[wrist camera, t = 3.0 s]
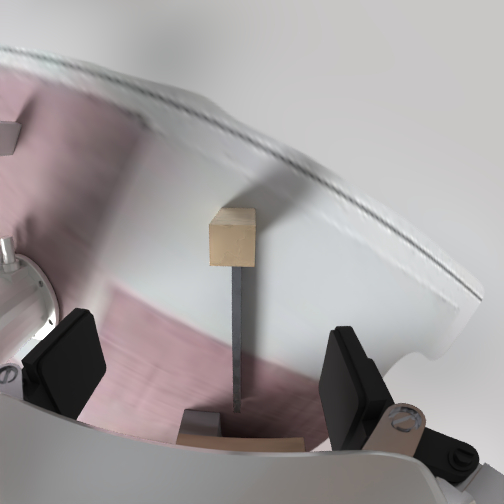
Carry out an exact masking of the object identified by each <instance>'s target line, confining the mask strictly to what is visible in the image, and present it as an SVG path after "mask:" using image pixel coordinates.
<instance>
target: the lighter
mask: <svg viewBox="0 0 504 504" xmlns="http://www.w3.org/2000/svg"><path fill="white" fill-rule="evenodd" d="M21 126H22V125H21V124H20V123H17V122H11V121H0V156H9V155H13V152H14V149H15V145H16V142H17V139H18V136H19V132H20V129H21Z"/></svg>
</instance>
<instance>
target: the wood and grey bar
mask: <svg viewBox="0 0 504 504" xmlns="http://www.w3.org/2000/svg"><path fill="white" fill-rule="evenodd" d="M255 234H256V219H255V208H221V209H220V210H219V212H218V213H217V214H216V216H215V217H214V219H213V220H212V221H211V223H210V224H209V248H210V266H232V351H233V402H234V413H240V407H241V280H242V267H255Z"/></svg>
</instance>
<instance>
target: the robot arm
mask: <svg viewBox="0 0 504 504" xmlns="http://www.w3.org/2000/svg"><path fill="white" fill-rule="evenodd" d="M0 243H1V245H0V504H504V475H503V474H501V473H500V472H498V471H497V470H495V469H494V468H492V467H491V466H490V465H488V464H486V463H484V464H483V465H481V464H480V463H479V455H478V453H477V451H476V449H475V448H473V446H471V445H469V444H467V443H465V442H462V441H459V440H457V439H454V438H452V437H449V436H446V435H444V434H441V433H439V432H436V431H434V430H431V429H429V428H427V427H425V425H426V419H425V416H424V414H423V412H422V411H421V410H420V409H418V408H417V407H415V406H413V405H410V404H406V403H398V404H395V403H394V401H393V399H392V397H391V395H390V393H389V391H388V389H387V387H386V385H385V383H384V381H383V379H382V377H381V375H380V373H379V371H378V369H377V367H376V365H375V363H374V361H373V360H372V359H370V358H367V356H366V354H365V352H364V350H363V348H362V346H361V344H360V342H359V340H358V338H357V336H356V334H355V332H354V330H353V328H352V327H351V326H337V327H336V328H335V330H331V331H330V335H329V340H328V345H327V350H326V354H325V359H324V364H323V368H322V373H321V377H320V381H319V394H320V398H321V402H322V407H323V411H324V415H325V420H326V424H327V429H328V433H329V438H330V442H331V447H332V451H319V452H242V451H226V450H215V449H205V448H197V447H189V446H182V445H176V444H169V443H164V442H158V441H153V440H148V439H143V438H138V437H134V436H130V435H126V434H121V433H118V432H114V431H110V430H106V429H103V428H99V427H96V426H92V425H89V424H86V423H83V422H80V421H77V418H78V416H79V415H80V413H81V411H82V410H83V408H84V406H85V405H86V403H87V401H88V400H89V398H90V397H91V395H92V393H93V392H94V390H95V388H96V387H97V385H98V384H99V382H100V381H101V379H102V377H103V376H104V374H105V372H106V363H105V360H104V356H103V353H102V349H101V345H100V341H99V337H98V333H97V329H96V325H95V320H94V316H93V315H92V314H91V313H90V311H89V310H87V309H81V308H75V309H74V310H73V311H72V312H71V313H70V314H68V315H67V316H66V317H65V318H64V319H63V320H62V321H61V322H60V323H59V324H58V322H59V308H58V302H57V299H56V295H55V293H54V290H53V288H52V286H51V284H50V282H49V280H48V278H47V277H46V275H45V274H44V273H43V271H42V270H41V269H40V268H39V266H38V265H37V264H36V263H35V262H33V261H32V260H31V259H30V258H28V257H26V256H24V255H21V254H15V251H14V250H15V247H14V240H13V235H8V236H4V237H1V238H0ZM3 256H4V259H3ZM31 338H34V339H39V340H40V339H42V340H41V341H40V342H39V343H38V344H37V345H36V346H35V347H34V348H33V349H32V350H31V351H30V352H29V353H28V354H27V355H26V356H25V357H24V358H23V359H22V360H21V361H22V364H23V366H24V367H23V369H22V370H21V368H20V366H19V365H17V364H14V363H7V362H8V361H9V360H10V359H11V358H12V357H13V356H14V355H15V354H16V353H17V352H18V351H19V350H20V349H21V348H22V347H23V346H24V345H25V344H26V343H27V342H28V341H29V340H30V339H31ZM6 363H7V364H6Z"/></svg>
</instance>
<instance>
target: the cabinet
mask: <svg viewBox="0 0 504 504" xmlns="http://www.w3.org/2000/svg"><path fill="white" fill-rule="evenodd" d="M176 445H182V446H189V447H197V448H205V449H215V450H226V451H242V452H306V451H305V445H304V438H303V437H297V438H227V437H222V434H221V422H220V413H216V412H202V411H191V410H184V413H183V417H182V421H181V425H180V429H179V433H178V437H177V441H176Z"/></svg>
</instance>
